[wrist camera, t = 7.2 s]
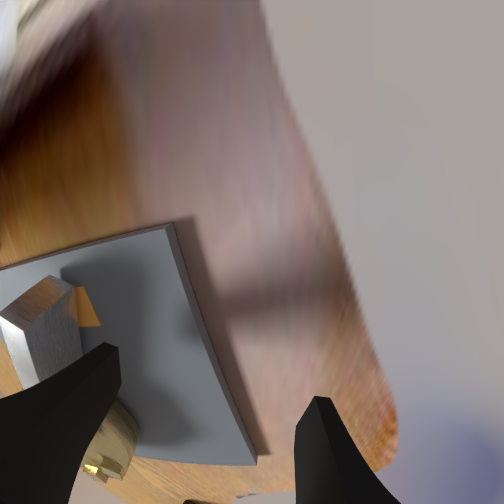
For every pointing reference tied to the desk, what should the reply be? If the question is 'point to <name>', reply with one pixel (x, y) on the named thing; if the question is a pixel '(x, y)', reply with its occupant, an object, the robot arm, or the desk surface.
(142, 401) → the base plate
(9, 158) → the desk surface
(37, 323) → the gold rounded piece
